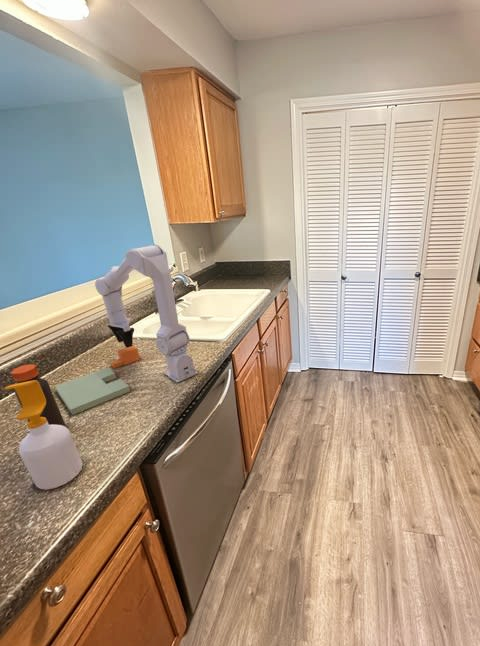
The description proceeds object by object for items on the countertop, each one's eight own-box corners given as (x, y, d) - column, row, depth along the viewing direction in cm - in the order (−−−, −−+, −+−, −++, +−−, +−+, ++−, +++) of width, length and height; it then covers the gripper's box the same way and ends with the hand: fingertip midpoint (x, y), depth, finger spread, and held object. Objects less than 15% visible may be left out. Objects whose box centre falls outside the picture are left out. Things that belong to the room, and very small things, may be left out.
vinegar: (49, 425, 91) (21, 362, 83) (72, 424, 91) (47, 361, 83) (30, 442, 85) (-2, 376, 77) (55, 441, 84) (25, 375, 76)
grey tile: (130, 391, 105) (128, 385, 105) (72, 415, 95) (70, 409, 94) (109, 371, 118) (108, 367, 118) (56, 391, 108) (54, 385, 107)
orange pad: (140, 359, 127) (137, 348, 125) (114, 368, 120) (110, 356, 118) (136, 356, 129) (133, 345, 127) (110, 365, 123) (107, 353, 121)
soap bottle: (30, 496, 69) (-21, 399, 59) (42, 467, 76) (-1, 377, 67) (79, 481, 72) (38, 387, 62) (86, 454, 79) (50, 367, 70)
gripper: (134, 311, 115) (143, 345, 121) (120, 303, 125) (129, 335, 130) (113, 316, 111) (124, 352, 116) (100, 308, 120) (110, 341, 126)
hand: (125, 344), depth 123 cm, fingers open, 7 cm apart
